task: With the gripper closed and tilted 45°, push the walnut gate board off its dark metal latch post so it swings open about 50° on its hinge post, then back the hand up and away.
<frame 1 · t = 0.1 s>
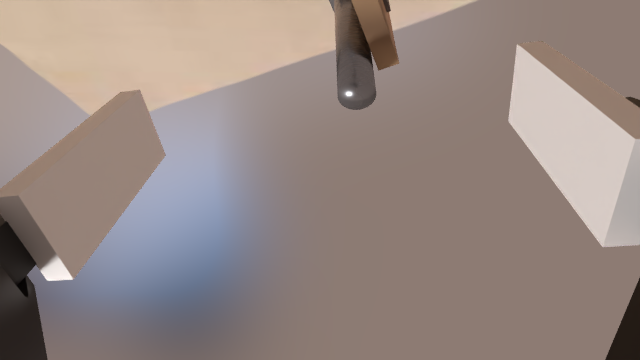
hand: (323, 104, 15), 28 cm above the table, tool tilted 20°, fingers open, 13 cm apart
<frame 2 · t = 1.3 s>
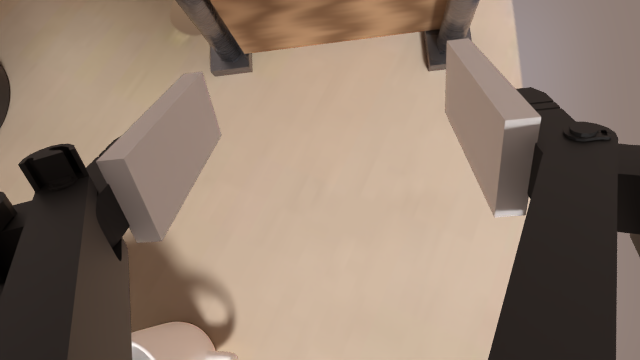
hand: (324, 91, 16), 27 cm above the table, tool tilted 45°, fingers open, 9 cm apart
gate frame: (233, 56, 47), on the table
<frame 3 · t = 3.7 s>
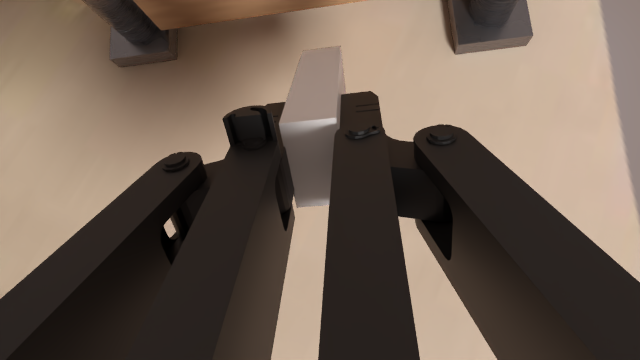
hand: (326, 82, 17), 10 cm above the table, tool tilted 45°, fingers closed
gate frame: (148, 35, 30), on the table
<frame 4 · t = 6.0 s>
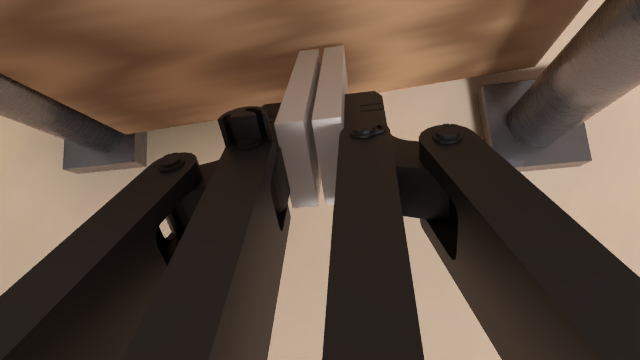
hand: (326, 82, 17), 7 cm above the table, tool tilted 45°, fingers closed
gate: (290, 17, 16), point 8 cm above the table, hinge at 2.8°, touching gripper
gate frame: (112, 134, 25), on the table
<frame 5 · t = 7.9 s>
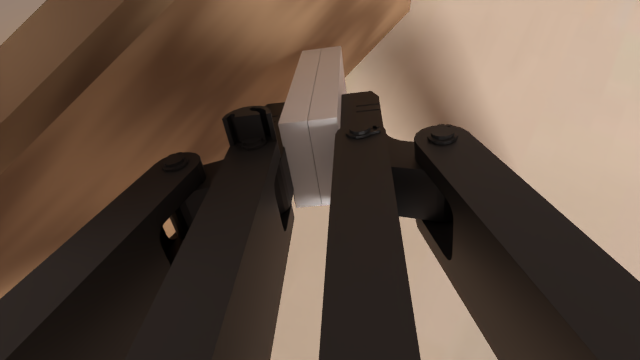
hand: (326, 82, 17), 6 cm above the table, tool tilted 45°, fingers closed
gate: (203, 102, 16), point 8 cm above the table, hinge at 41.8°
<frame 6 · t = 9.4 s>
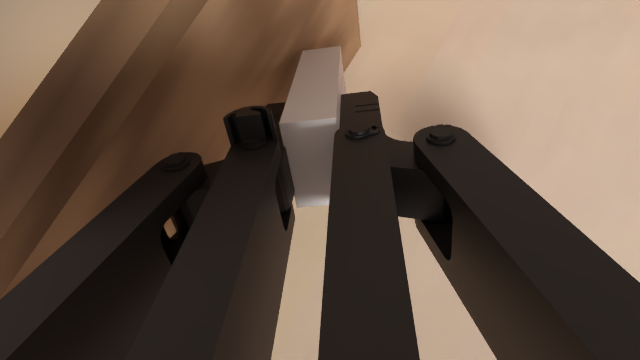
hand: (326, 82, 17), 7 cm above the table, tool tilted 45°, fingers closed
gate: (176, 187, 15), point 8 cm above the table, hinge at 54.0°, touching gripper
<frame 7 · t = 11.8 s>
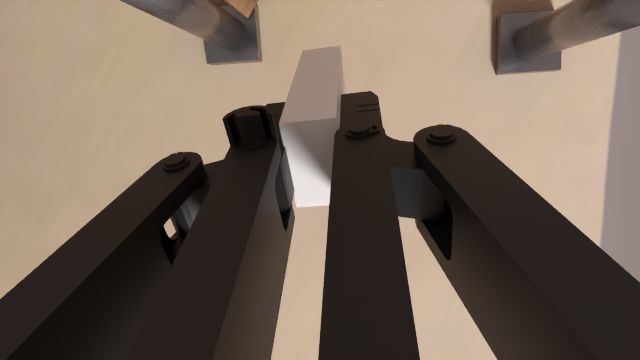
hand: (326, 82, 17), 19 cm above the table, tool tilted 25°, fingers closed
gate frame: (234, 36, 35), on the table
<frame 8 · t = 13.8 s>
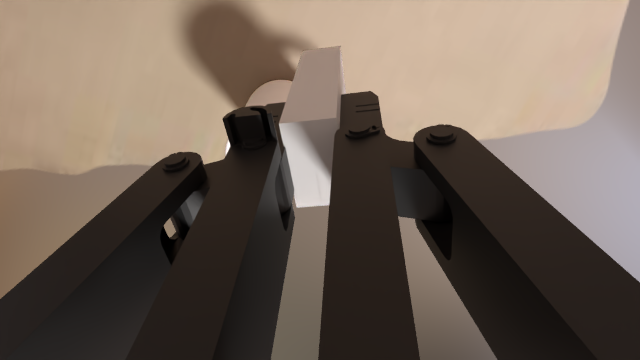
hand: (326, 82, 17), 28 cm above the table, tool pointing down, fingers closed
mug: (298, 108, 48), on the table
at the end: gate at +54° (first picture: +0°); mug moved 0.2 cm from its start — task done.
